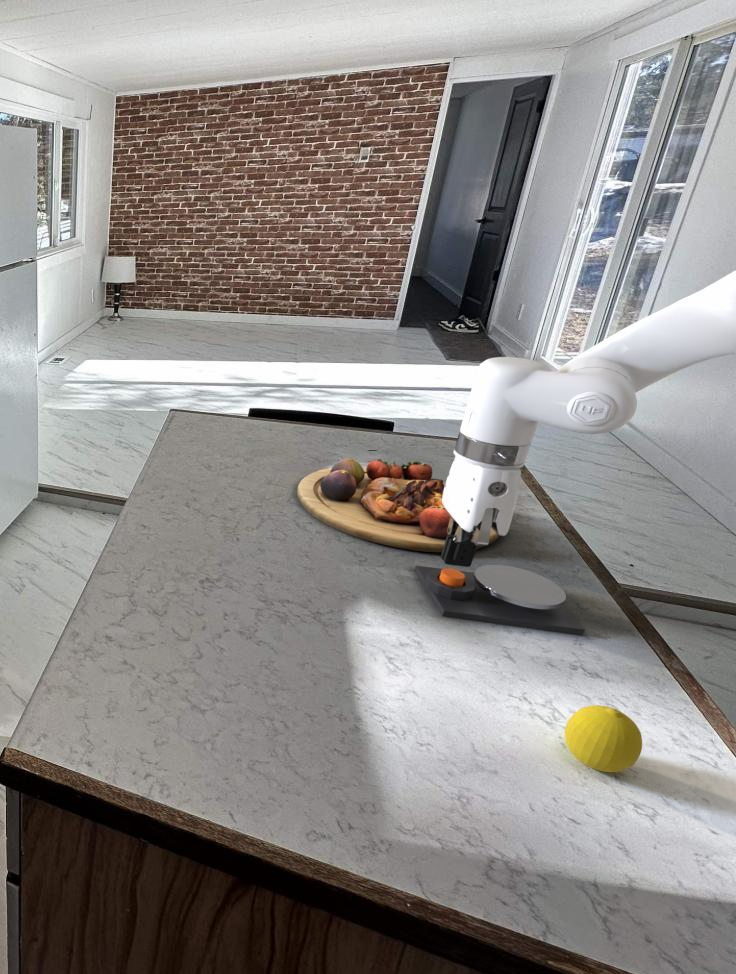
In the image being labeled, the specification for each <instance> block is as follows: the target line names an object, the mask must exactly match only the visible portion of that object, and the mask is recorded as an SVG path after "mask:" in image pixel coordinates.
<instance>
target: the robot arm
mask: <svg viewBox="0 0 736 974" xmlns="http://www.w3.org/2000/svg"><path fill="white" fill-rule="evenodd" d="M730 355H731V356H732V355H736V270H734V271H732V272H730V273H728V274H726V275H724V276H723V277H721V278H720V279H718V280H716V281H715V282H712V283H711V284H709V285H707V286H706V287H703V288H702V289H700V290H698V291H696V292H694V293H691V294H690V295H688V296H686V297H683V298H681V299H679V300H677V301H675V302H674V303H671V304H670V305H668V306H666V307H664V308H662V309H660V310H658V311H656V312H654V313H652V314H649V315H648V316H645V317H643V318H641V319H640V320H638V321H636V322H634V323H632V324H630V325H628V326H626V327H624V328H622V329H621V330H619V331H616V332H615V333H614V334H612V335H610V336H609V337H607V338H605V339H604V340H601V341H600V342H598V343H596V344H595V345H593V346H592V347H589V348H588V349H586V350H584V351H582V353H579V354H578V355H576V356H574V357H573V358H572V359H570V360H568V361H567V362H566V363H564V364H563V365H562V366H560V367H559V369H558V370H557V371H553V370H552V368H551V367H550V366H549V365H548V364H547V363H544V362H541V361H539V360H535V359H529V358H523V357H514V356H497V357H496V356H495V357H490V358H487V359H485V360H484V361H482V362H481V363H480V364H479V365H478V368H477V370H476V373H475V376H474V381H473V383H472V387H471V390H470V394H469V397H468V401H467V404H466V407H465V410H464V411H465V412H464V414H463V418H462V420H461V421H462V422H461V424H460V429H459V432H458V436H457V438H456V442H455V445H454V449H453V455H454V459H453V461H452V463H451V466H450V469H449V472H448V473H447V478H446V481H445V482H444V483H445V487H444V491H443V495H442V503H443V505H444V507H445V508H446V510H447V511H448V512H449V513H450V520H449V525H448V530H447V532H448V534H449V535H447V538H446V541H445V544H444V548H443V551H442V552H441V555H440V558H441V559H442V561H443V562H444V564H445V565H449V566H457V567H464V568H465V567H466V568H470V567H471V566H472V563H473V561H474V558H475V555H476V551H477V549H476V548H477V545H487V546H489V545H488V543H489V538H490V532H491V528H492V529H493V530H494V531H495V532H496V533H497V534H498V535H500V536H499V537H504V536H506V535H507V534H508V532H509V530H510V528H511V524H512V520H513V517H514V513H515V510H516V509H515V508H516V505H517V500H518V496H519V492H520V485H521V478H522V469H521V468H523V467H524V465H525V463H526V459H527V457H528V454H529V451H530V447H531V445H532V442H533V438H534V436H535V433H536V429H537V427H538V423H541V424H544V425H548V426H550V427H554V428H557V429H561V430H565V431H569V432H573V433H577V434H585V435H599V434H607V433H611V432H613V431H614V432H615V431H616V430H619V429H620V428H622V427H624V426H625V425H626V424H628V423H629V422H630V421H631V420H632V419H633V417H634V415H635V414H636V411H637V406H638V400H637V395H636V393H638V392H640V391H642V390H644V389H646V388H648V387H649V386H651V385H653V384H655V383H657V382H659V381H661V380H663V379H664V378H667V377H669V376H671V375H673V374H675V373H677V372H679V371H682V370H684V369H686V368H689V367H691V366H694V365H697V364H699V363H703V362H704V361H709V360H711V359H715V358H720V357H724V356H730ZM474 531H475V532H474ZM450 535H451V536H450Z"/></svg>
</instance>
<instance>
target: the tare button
mask: <svg viewBox="0 0 736 974" xmlns="http://www.w3.org/2000/svg"><path fill="white" fill-rule="evenodd" d="M441 569H442V571H441V574H440V578H439V580H440V581H441V582H443V583H444V584H447V585H450V586H455V587H462V586H463V583H464V580H465V575H464V574H463V573H462V572H460V571H461V570H457V569H454V568H449V567H447V568H446V567H445V568H441Z"/></svg>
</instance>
